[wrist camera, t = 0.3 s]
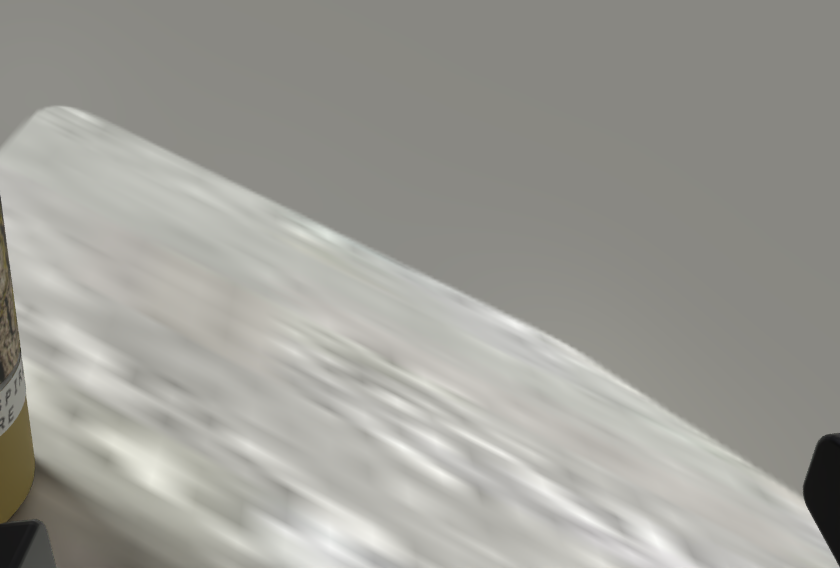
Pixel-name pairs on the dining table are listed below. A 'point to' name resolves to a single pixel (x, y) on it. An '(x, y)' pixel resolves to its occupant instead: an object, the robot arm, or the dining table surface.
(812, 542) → the dining table surface
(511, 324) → the dining table surface
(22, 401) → the bark textured cylinder
